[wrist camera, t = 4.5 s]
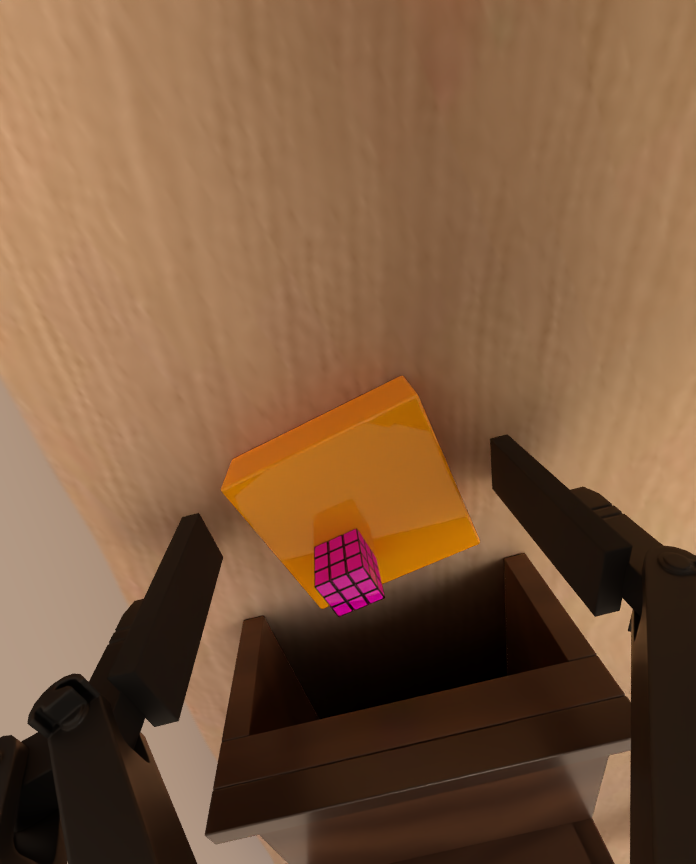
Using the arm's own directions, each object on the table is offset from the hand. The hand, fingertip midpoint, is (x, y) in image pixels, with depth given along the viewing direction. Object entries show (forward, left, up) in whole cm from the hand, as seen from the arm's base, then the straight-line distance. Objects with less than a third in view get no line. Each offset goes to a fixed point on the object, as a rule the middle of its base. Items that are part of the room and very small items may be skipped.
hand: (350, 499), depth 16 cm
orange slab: (0, 0, -1) cm, 1 cm away
